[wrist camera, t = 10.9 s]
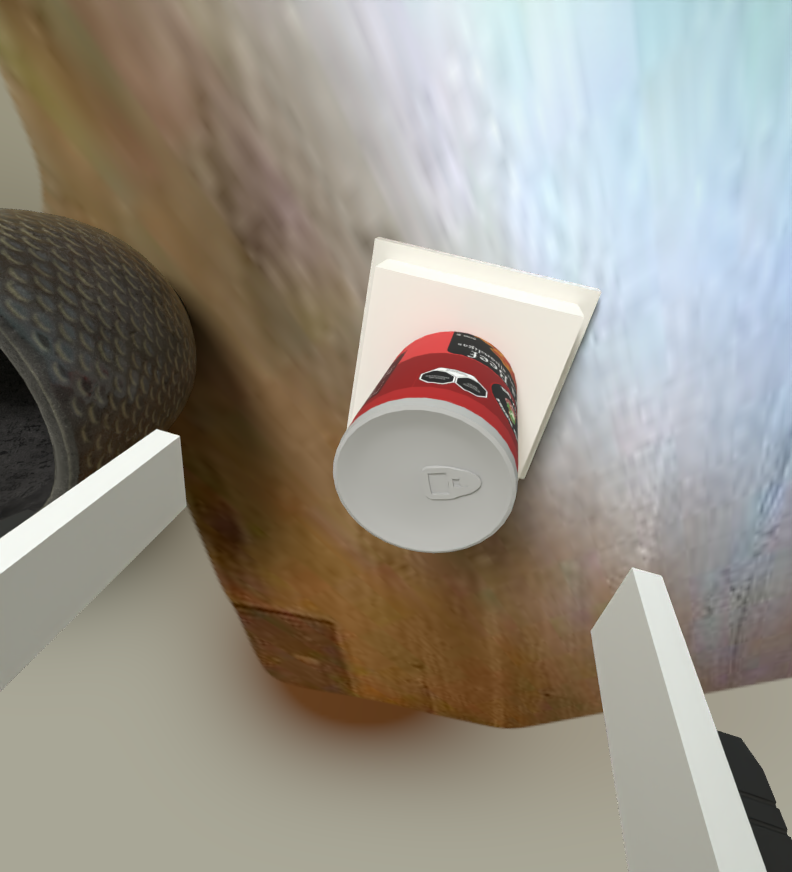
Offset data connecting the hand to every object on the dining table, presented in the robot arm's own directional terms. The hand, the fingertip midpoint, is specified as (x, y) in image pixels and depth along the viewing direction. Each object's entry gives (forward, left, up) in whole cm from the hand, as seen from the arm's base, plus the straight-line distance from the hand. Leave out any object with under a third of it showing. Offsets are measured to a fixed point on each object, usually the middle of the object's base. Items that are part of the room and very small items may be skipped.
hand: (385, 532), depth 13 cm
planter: (+5, -25, -21) cm, 33 cm away
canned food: (+2, 0, -17) cm, 17 cm away
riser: (+2, 0, -21) cm, 21 cm away
